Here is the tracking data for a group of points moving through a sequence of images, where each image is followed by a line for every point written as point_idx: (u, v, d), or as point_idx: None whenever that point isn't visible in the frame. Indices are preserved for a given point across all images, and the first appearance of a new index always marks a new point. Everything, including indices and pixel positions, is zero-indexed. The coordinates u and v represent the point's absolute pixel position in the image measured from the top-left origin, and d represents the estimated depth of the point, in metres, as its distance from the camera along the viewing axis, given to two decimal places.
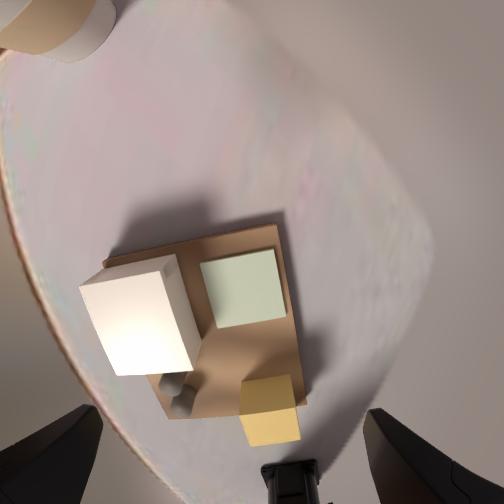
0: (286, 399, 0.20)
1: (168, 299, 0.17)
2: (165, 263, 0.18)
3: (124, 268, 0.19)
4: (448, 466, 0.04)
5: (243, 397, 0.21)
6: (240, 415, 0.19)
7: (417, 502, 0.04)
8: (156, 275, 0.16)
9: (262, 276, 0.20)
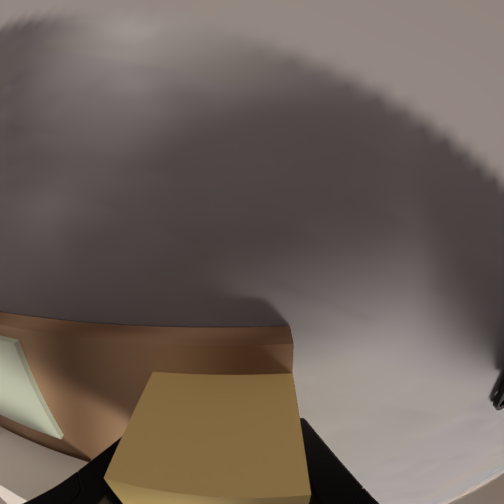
0: None
1: None
2: None
3: None
4: (354, 494, 0.04)
5: None
6: None
7: None
8: None
9: None
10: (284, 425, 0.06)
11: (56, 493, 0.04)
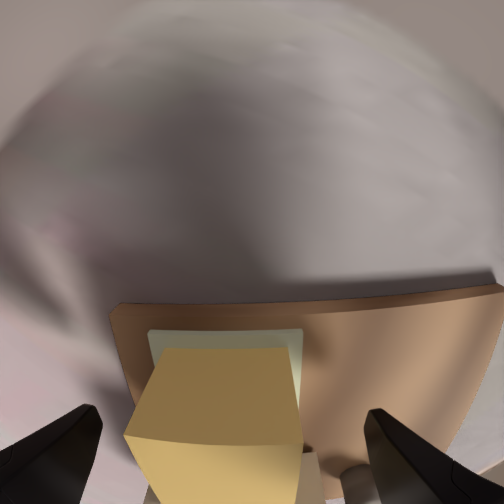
0: None
1: None
2: (149, 485, 0.09)
3: None
4: (449, 466, 0.04)
5: None
6: None
7: (418, 502, 0.04)
8: None
9: None
10: (280, 388, 0.07)
11: None
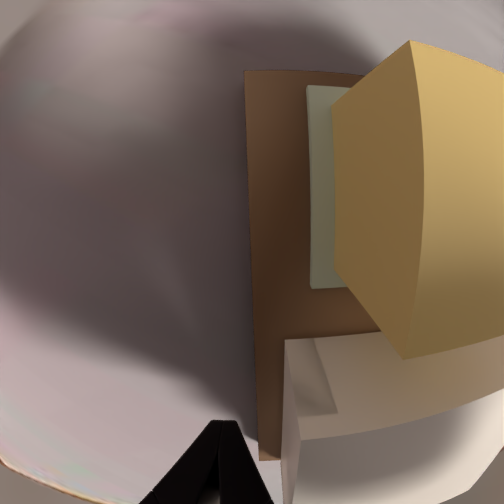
0: (383, 96, 0.04)
1: (393, 425, 0.04)
2: (293, 392, 0.06)
3: (285, 450, 0.08)
4: None
5: (360, 289, 0.05)
6: (406, 351, 0.03)
7: None
8: (312, 447, 0.04)
9: None
10: None
11: None
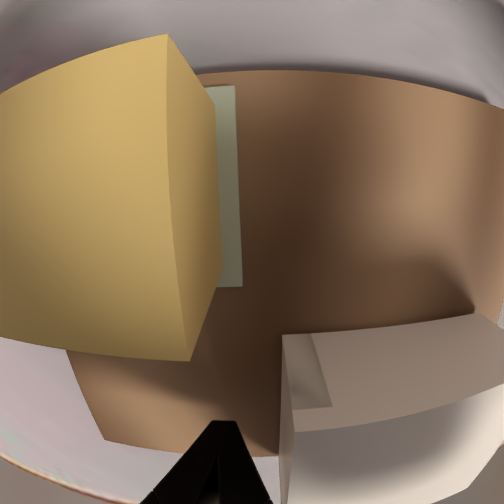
0: None
1: (387, 419, 0.04)
2: (289, 385, 0.06)
3: (282, 445, 0.08)
4: None
5: None
6: None
7: None
8: (306, 439, 0.05)
9: None
10: None
11: None
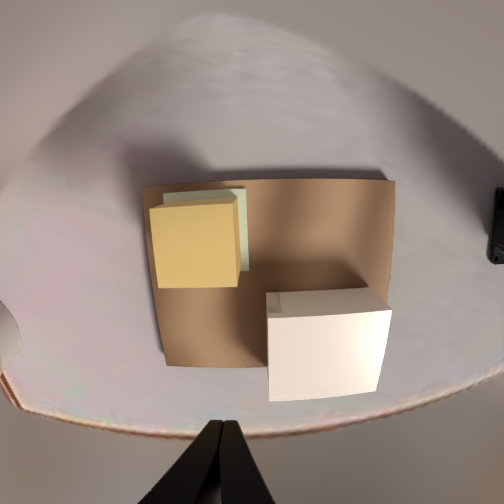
0: None
1: (301, 316, 0.15)
2: (267, 307, 0.17)
3: (267, 348, 0.19)
4: None
5: None
6: (159, 286, 0.15)
7: None
8: (272, 322, 0.15)
9: None
10: (228, 200, 0.15)
11: None
